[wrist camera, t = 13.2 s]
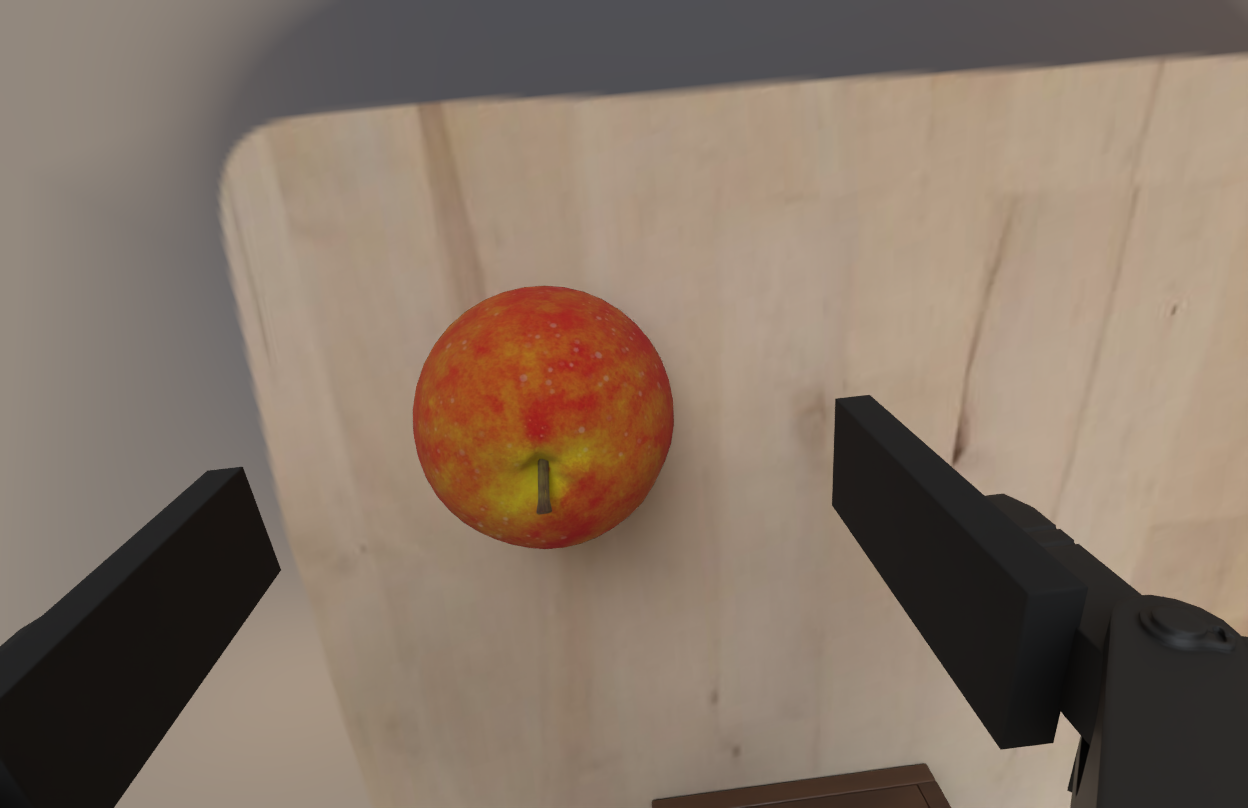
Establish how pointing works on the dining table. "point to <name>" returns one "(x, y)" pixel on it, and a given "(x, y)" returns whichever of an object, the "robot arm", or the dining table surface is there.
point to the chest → (830, 792)
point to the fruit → (543, 417)
